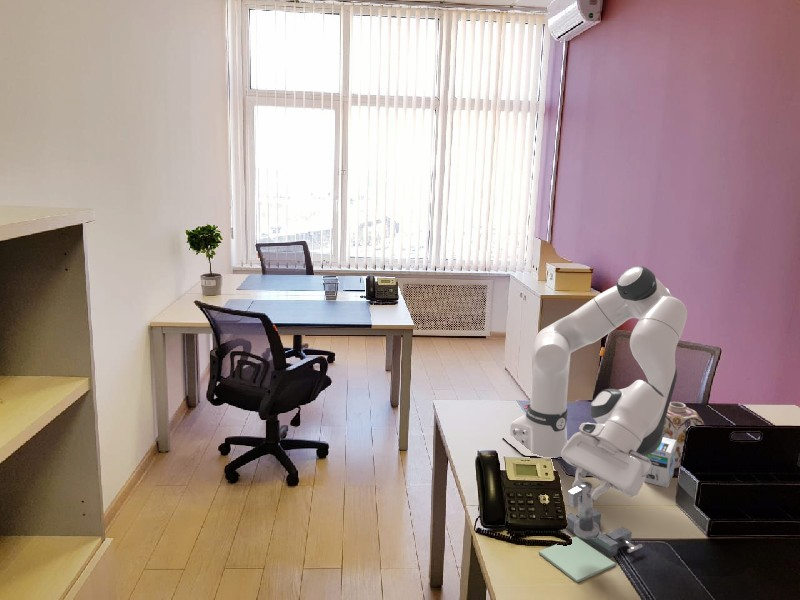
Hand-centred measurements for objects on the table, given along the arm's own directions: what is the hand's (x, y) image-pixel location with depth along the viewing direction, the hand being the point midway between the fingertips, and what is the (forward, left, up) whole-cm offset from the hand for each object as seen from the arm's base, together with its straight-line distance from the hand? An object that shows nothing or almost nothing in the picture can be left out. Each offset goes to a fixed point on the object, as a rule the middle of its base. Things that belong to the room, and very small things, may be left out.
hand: (583, 493), depth 138 cm
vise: (-3, +12, -17) cm, 21 cm away
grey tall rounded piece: (0, +2, -10) cm, 10 cm away
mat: (-1, 0, -17) cm, 17 cm away
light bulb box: (-17, +50, -17) cm, 56 cm away
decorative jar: (-23, +64, -17) cm, 70 cm away
